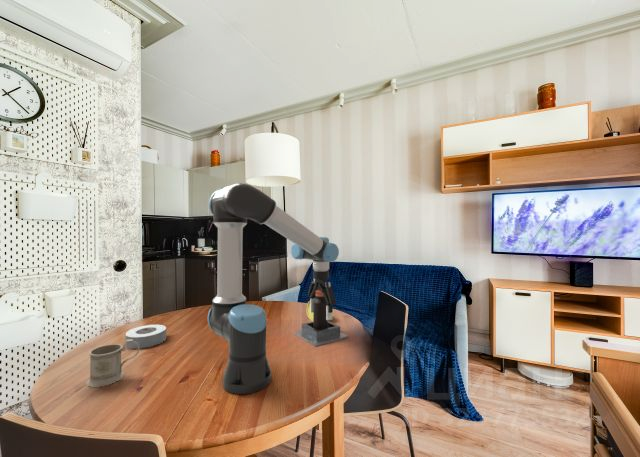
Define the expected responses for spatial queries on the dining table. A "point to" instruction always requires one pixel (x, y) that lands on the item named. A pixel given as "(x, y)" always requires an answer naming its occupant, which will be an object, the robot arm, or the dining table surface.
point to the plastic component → (310, 315)
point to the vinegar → (319, 311)
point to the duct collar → (320, 334)
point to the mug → (107, 364)
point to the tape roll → (146, 336)
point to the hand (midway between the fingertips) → (320, 315)
